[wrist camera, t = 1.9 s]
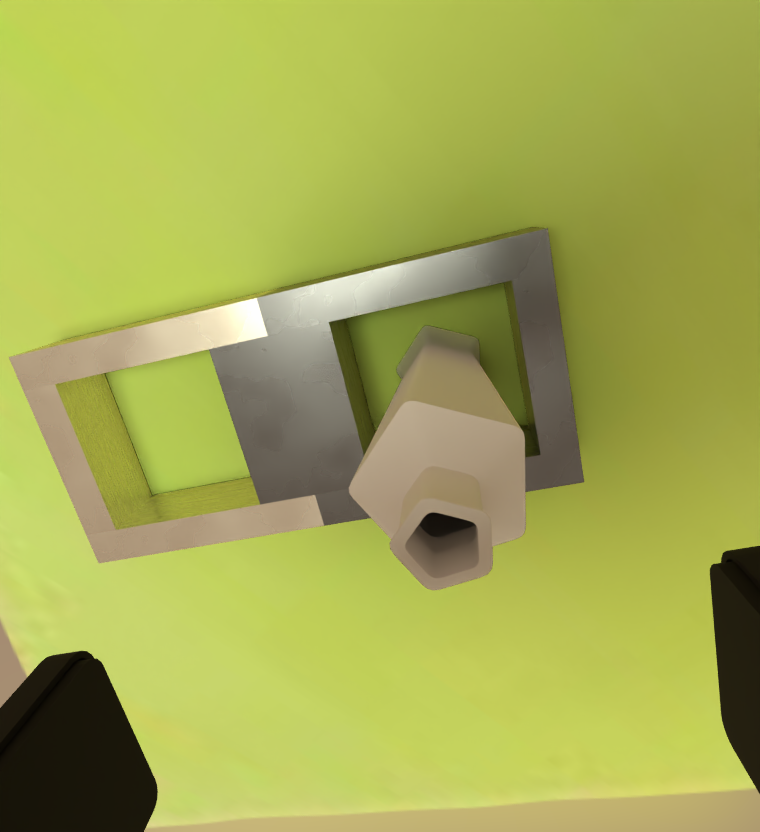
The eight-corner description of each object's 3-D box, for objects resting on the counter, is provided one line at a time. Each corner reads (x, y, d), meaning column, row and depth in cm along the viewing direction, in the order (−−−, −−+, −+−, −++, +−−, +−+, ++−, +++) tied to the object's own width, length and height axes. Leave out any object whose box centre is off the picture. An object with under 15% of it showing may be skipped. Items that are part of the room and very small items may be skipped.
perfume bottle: (384, 320, 26) (316, 446, 11) (485, 313, 25) (544, 436, 11) (392, 418, 27) (341, 638, 13) (488, 413, 26) (544, 637, 12)
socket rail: (532, 227, 24) (547, 228, 20) (566, 449, 27) (584, 482, 23) (60, 340, 27) (8, 357, 24) (135, 525, 30) (98, 563, 27)
